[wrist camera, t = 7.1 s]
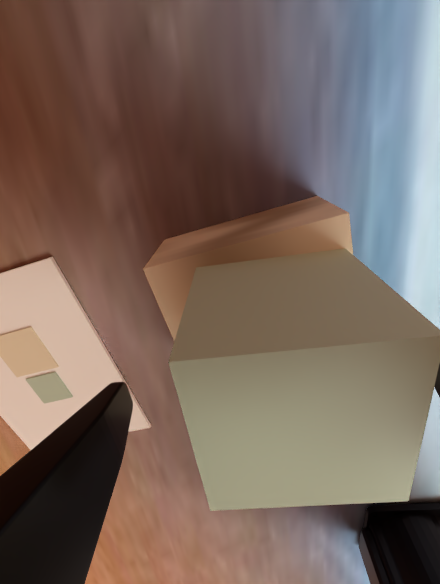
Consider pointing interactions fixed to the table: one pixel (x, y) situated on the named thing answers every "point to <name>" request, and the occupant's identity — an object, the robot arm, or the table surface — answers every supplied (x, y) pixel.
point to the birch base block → (243, 247)
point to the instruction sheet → (49, 354)
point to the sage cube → (303, 382)
